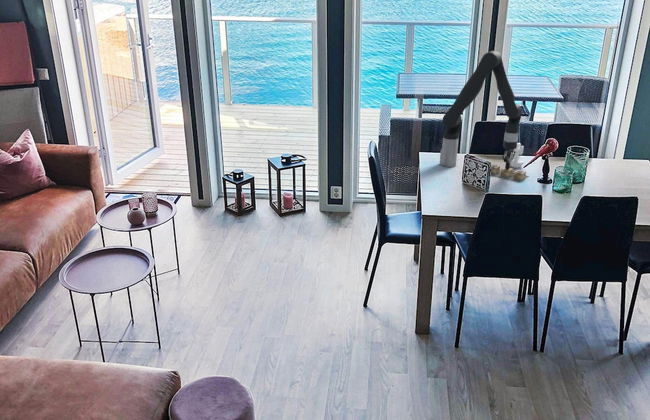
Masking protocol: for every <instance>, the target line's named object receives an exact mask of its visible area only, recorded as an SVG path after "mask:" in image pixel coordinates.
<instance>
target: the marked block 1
mask: <svg viewBox="0 0 650 420" xmlns="http://www.w3.org/2000/svg"><path fill="white" fill-rule="evenodd" d="M490 165H491V173H493V174H497V173H499V172H500V170H501V165H499V164H495V163H491V164H490Z"/></svg>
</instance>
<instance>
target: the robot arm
mask: <svg viewBox="0 0 650 420" xmlns="http://www.w3.org/2000/svg"><path fill="white" fill-rule="evenodd" d="M491 71H492V72H493V75H494V78H495V82H496V87H497V91H498V94H499V96H500V99H501V100H502V104H503V108H504V109H503V110H504V112H505V114H506V117H508V118H507V119H508V121H507V122H506V124H505V130H504V131H505V132H504V136H503V137H504V138H503V146H502V147H503V149H505V150H504V154H503V155H502V159H503V162H504V163H505V165H504V167H505V168H506V169H509V168H511V166H510V162H511V161H512V160H513V159H514V155H515V153H516V151H514V149H516V148H517V143H518V140H519V129H520V128H519V127H520V122H521V119H522V112H523V109H522V107H521V105H519V104H517V103H516V102H515V100H516V99H515V93H514V90H513V88H512V86H511V84H510V82H509V79H508V76H507V74H506V69H505V66H504V62H503V59H502V55H501V53H500V52H498V50H497V51H496V50H490V51H487V52H486V53H484V54H483V55H482V56H481V59H480V61H479V63H478V64H477V67H476V68H475V70H474V72H472V73H473V74H471V76H470V77H469V79H468V80H467V81H466V82H465V84H464V86H463V88H462V89H461V90H460V93H458V96H457V97H456V99H455V101H454V102H453V103H452V104H451V106H450V108H448V110H447V111H446V113H445V114H444V115H443V117H442V124H443V126H444V127H445V129H444V131H443V134H442V135H443V136H442V145H441V147H442V148H441V149H440V155H439V165H441V166H443V167H445V168H446V167H447V168H453V167H456V166H457V161H458V159H457V158H458V147H459V139H460V138H459V137H460V134H461V129H462V120H463V119H462V114H463V112H464V111H465V110H466V109H467V108H468V107H469V106H470V105H471V104H472V103H474V101H475V100H476V98H477V97H478V95H479V94H480V92H481V90H482V88H483V87H484V82H485V80H486V78H487V77H488V75H489V74H490V73H491Z"/></svg>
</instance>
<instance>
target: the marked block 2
mask: <svg viewBox="0 0 650 420" xmlns="http://www.w3.org/2000/svg"><path fill="white" fill-rule="evenodd" d="M513 173H514V179H518V180H523V179H524V180H526V179H525V177H526V176H527V171H525V170H521V169H517V170H515V171H514V172H513ZM524 180H523V181H524Z"/></svg>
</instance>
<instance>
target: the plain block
mask: <svg viewBox="0 0 650 420" xmlns="http://www.w3.org/2000/svg"><path fill="white" fill-rule="evenodd" d="M500 170H501V176H505V177H510V176H511V175H512V173H514V172H513V171H514V167H510V168H509V169H506V168H505V166H504V167H502V168H500Z"/></svg>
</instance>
